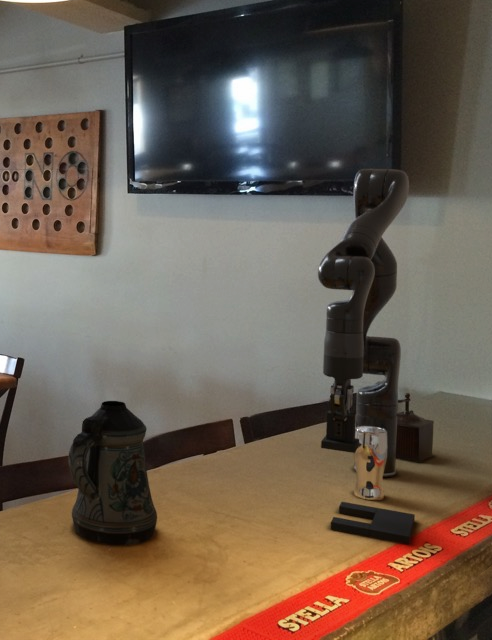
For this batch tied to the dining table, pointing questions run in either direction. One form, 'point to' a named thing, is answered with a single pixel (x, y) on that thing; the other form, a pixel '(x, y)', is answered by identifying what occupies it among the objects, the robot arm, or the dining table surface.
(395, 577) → the dining table surface
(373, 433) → the beer glass
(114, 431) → the beer stein
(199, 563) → the dining table surface
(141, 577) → the dining table surface
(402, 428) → the brown coffee grinder
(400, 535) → the large pad
